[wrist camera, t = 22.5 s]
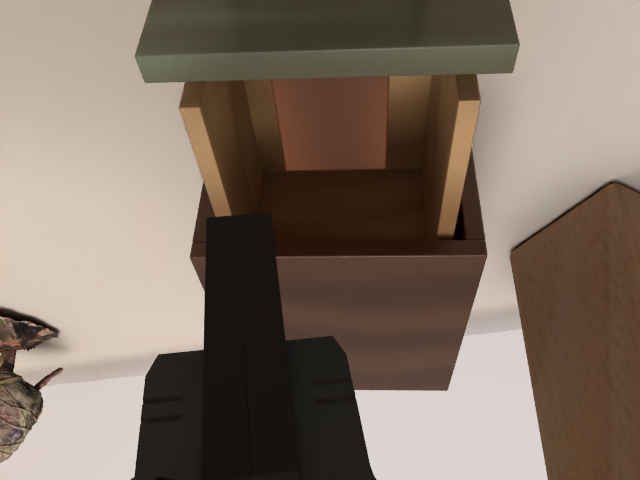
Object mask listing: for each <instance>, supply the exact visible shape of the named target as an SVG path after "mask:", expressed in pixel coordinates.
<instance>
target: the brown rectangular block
mask: <svg viewBox="0 0 640 480" xmlns="http://www.w3.org/2000/svg"><path fill="white" fill-rule="evenodd" d="M271 84H272V90H273V96H274V102H275V108H276V114H277V120H278V126H279V132H280V138H281V144H282V150H283V156H284V162H285V168H286V170H287V171H299V170H352V169H385V168H386V157H387V129H388V100H389V76H383V77H346V78H310V79H273V80H271Z"/></svg>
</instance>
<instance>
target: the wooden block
mask: <svg viewBox="0 0 640 480" xmlns="http://www.w3.org/2000/svg"><path fill="white" fill-rule="evenodd" d="M510 260H511V266H512V272H513V278H514V284H515V290H516V295H517V301H518V307H519V313H520V319H521V325H522V330H523V336H524V342H525V348H526V354H527V359H528V365H529V371H530V376H531V382H532V388H533V394H534V400H535V406H536V412H537V418H538V423H539V430H540V436H541V441H542V447H543V453H544V459H545V465H546V471H547V476H548V480H640V193H638V192H635V191H633V190H631V189H629V188H626V187H624V186H622V185H620V184H618V183H613V184H609V185H608V186H606V187H605V188H603V189H602V190H600V191H599V192H597V193H596V194H595V195H593V196H592V197H590V198H589V199H587V200H586V201H584V202H583V203H582V204H580V205H579V206H577V207H576V208H574V209H573V210H571V211H570V212H568V213H567V214H566V215H564V216H563V217H561V218H560V219H558V220H557V221H555V222H554V223H552V224H551V225H550V226H548V227H547V228H545V229H544V230H542V231H541V232H539V233H538V234H537V235H535V236H534V237H532V238H531V239H529V240H528V241H526V242H525V243H523V244H522V245H521V246H519V247H518V248H516V249H515V250H513V251H512V253H511V255H510Z"/></svg>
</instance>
